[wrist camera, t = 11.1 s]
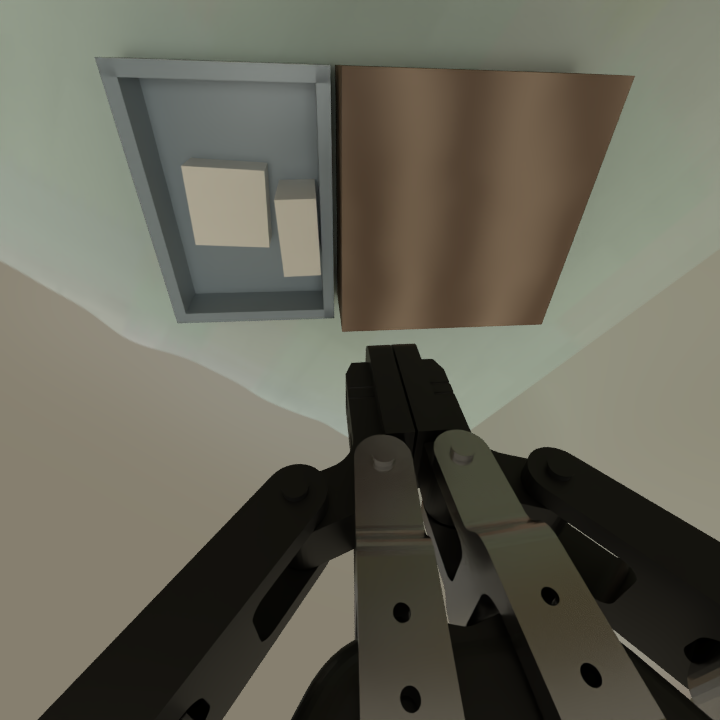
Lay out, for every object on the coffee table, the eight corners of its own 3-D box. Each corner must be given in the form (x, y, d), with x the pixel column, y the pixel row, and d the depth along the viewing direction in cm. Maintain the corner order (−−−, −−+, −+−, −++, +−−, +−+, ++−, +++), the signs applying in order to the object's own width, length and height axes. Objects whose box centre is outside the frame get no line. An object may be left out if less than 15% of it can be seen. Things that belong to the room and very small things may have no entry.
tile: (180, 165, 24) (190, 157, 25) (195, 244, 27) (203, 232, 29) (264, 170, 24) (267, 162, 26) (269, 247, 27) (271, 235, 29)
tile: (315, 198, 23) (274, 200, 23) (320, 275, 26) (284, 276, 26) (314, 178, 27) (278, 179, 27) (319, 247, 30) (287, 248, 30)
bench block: (574, 73, 26) (634, 75, 21) (510, 289, 35) (541, 324, 31) (335, 64, 24) (341, 65, 19) (337, 293, 34) (342, 331, 29)
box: (327, 64, 24) (330, 65, 21) (331, 294, 34) (334, 318, 31) (124, 57, 23) (94, 57, 20) (190, 297, 32) (177, 323, 29)
